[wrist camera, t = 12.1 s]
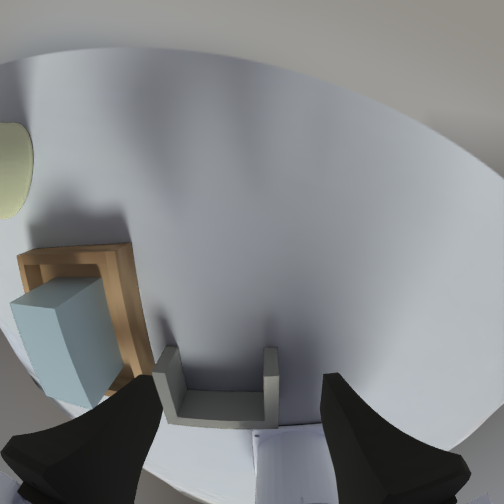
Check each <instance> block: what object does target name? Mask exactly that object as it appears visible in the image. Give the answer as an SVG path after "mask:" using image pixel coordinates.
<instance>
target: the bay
mask: <svg viewBox="0 0 504 504" xmlns="http://www.w3.org/2000/svg"><path fill="white" fill-rule="evenodd" d="M152 375H153V379H154V382H155V385H156V388H157V391H158V394H159V397H160V400H161V403H162V406H163V411H164V413H165V416H166V419H167V422H168V424H174V425H183V426H192V427H204V428H220V429H278V424H279V365H278V351H277V347H276V348H264V392H229V391H203V390H188V389H187V387H186V382H185V378H184V373H183V369H182V364H181V359H180V354H179V349H178V347H172V346H166V347H165V349H164V351H163V353H162V354H161V356H160V358H159V360H158V361H157V363H156V365H155V367H154V369H153V370H152Z"/></svg>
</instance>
